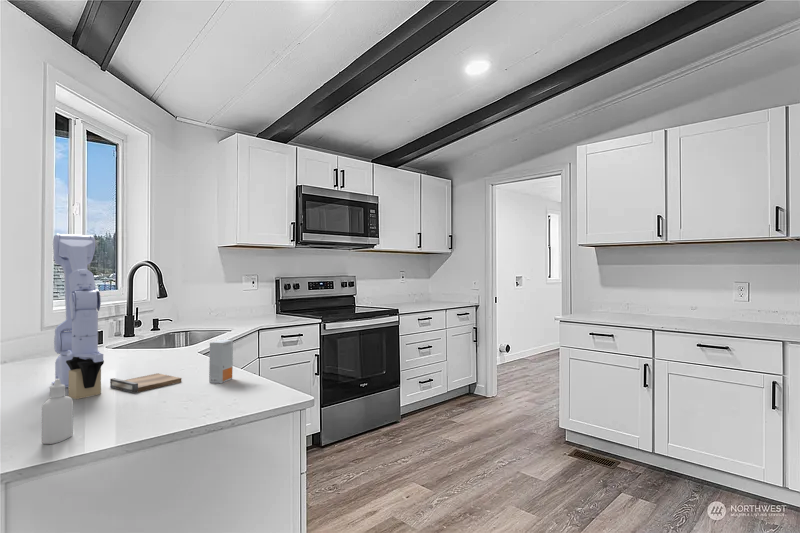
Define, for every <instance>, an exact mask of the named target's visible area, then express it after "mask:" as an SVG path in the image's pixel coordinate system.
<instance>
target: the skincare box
mask: <svg viewBox="0 0 800 533" xmlns="http://www.w3.org/2000/svg"><path fill="white" fill-rule="evenodd" d="M233 346H234V340H233V339H219V340H214V341H211V342H209V367H208V368H209V370H208V372H209V373H208V374H209V376H208V377H209V380H208V381H209V383H210V384H223V383H225V382H228V381H230V379H231V380H233V371H234V370H233V367H234V366H233V364H234V362H233V361H234V358H233V356H234V354H233V353H234V352H233V351H234V348H233ZM227 380H228V381H227Z"/></svg>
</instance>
